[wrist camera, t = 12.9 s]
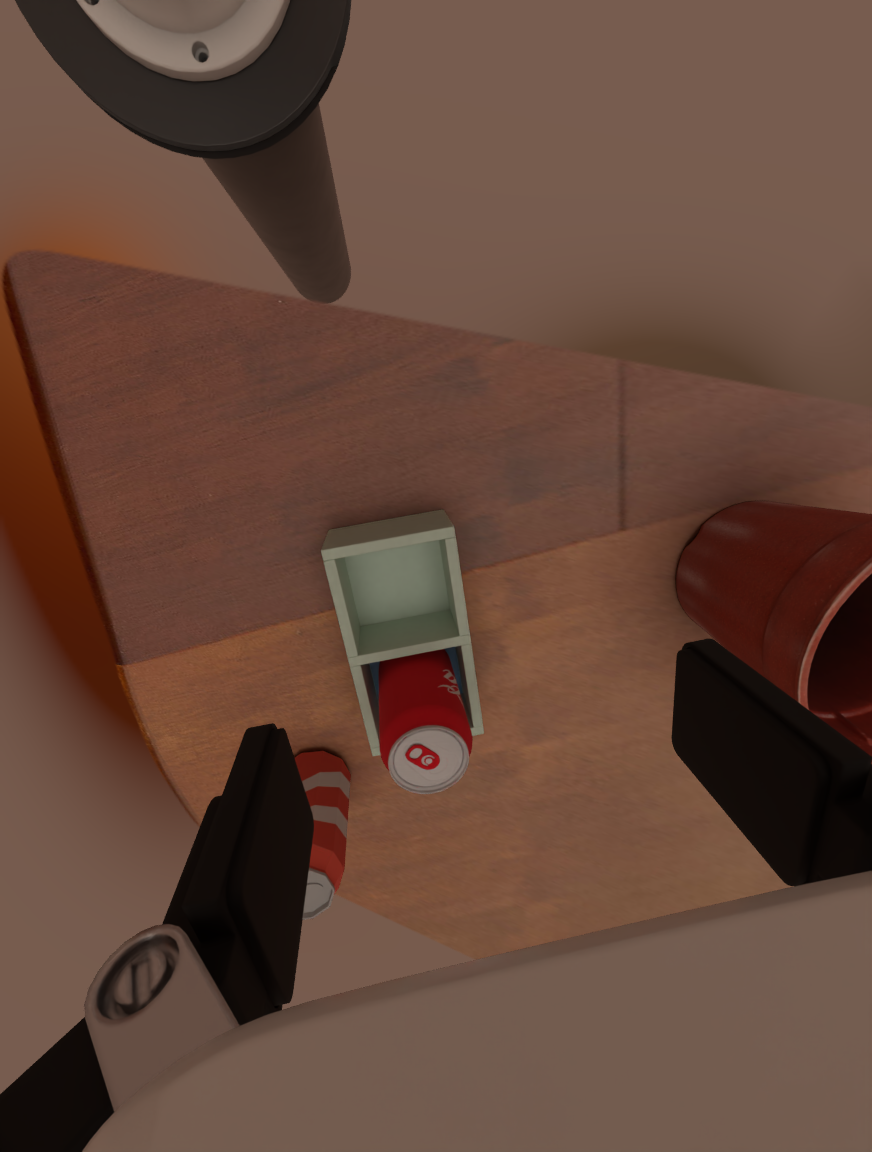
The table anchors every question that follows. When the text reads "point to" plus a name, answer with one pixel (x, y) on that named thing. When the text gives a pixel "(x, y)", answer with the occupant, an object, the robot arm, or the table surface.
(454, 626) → the grey divided storage box
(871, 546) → the flower pot
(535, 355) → the table surface
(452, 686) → the beverage can
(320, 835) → the beverage can
